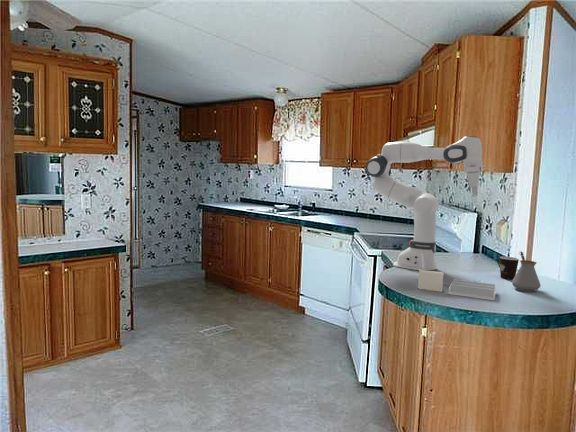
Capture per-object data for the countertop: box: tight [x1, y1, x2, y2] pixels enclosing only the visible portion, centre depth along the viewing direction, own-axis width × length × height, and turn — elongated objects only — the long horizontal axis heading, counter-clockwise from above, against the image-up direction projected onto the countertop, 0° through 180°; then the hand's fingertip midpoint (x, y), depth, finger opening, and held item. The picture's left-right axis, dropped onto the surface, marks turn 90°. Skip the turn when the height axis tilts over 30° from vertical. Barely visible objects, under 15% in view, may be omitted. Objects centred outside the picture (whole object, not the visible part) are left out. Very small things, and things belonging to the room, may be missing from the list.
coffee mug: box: [496, 256, 520, 281], centre depth 233 cm, size 12×9×10 cm
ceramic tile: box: [417, 270, 445, 293], centre depth 205 cm, size 10×2×8 cm, turn 65°
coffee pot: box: [511, 250, 542, 293], centre depth 214 cm, size 21×12×15 cm, turn 164°
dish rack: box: [447, 278, 497, 301], centre depth 200 cm, size 18×13×4 cm
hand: (475, 196), depth 235 cm, fingers open, 8 cm apart
